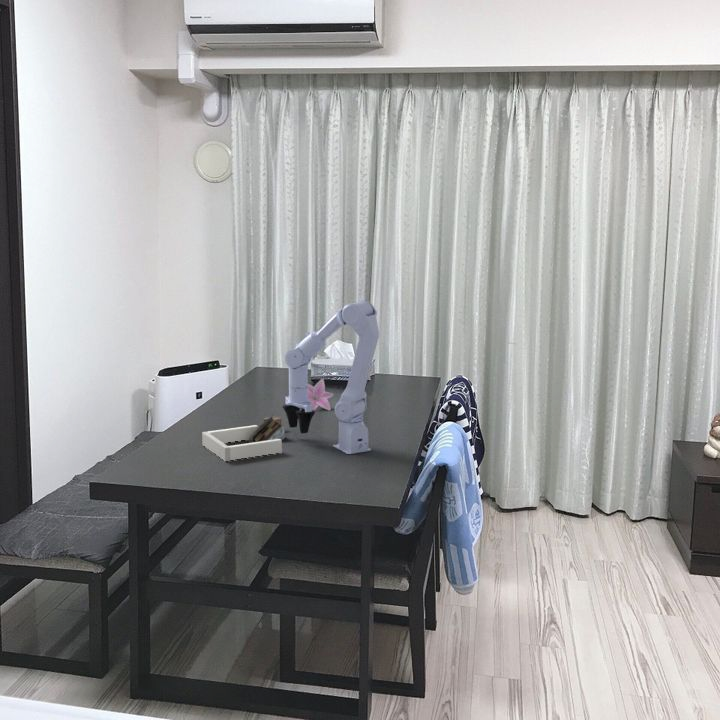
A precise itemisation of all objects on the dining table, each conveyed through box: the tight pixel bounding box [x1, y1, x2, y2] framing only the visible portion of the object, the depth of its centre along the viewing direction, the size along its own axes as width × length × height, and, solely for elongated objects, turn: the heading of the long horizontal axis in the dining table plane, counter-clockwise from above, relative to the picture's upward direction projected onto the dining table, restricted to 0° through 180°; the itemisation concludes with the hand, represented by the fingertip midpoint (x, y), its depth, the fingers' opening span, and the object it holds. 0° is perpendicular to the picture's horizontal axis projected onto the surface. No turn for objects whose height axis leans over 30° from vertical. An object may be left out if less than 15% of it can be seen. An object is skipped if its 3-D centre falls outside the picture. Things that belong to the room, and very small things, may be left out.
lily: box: [308, 378, 334, 411], centre depth 300 cm, size 12×12×10 cm
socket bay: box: [201, 424, 283, 462], centre depth 251 cm, size 19×18×4 cm
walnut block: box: [263, 415, 282, 424], centre depth 272 cm, size 4×4×4 cm
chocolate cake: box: [248, 413, 286, 443], centre depth 261 cm, size 10×7×12 cm
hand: (298, 430), depth 260 cm, fingers open, 7 cm apart
